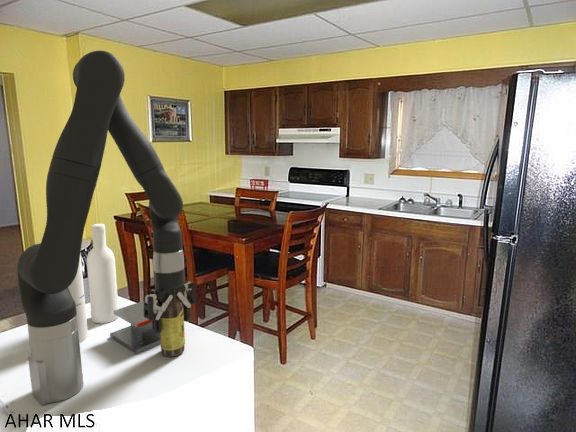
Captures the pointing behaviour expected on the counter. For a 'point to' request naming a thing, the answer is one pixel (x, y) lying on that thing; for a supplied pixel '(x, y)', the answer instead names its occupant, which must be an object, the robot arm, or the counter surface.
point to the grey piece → (136, 329)
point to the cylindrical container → (79, 302)
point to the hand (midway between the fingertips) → (172, 326)
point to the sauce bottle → (172, 327)
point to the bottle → (102, 278)
